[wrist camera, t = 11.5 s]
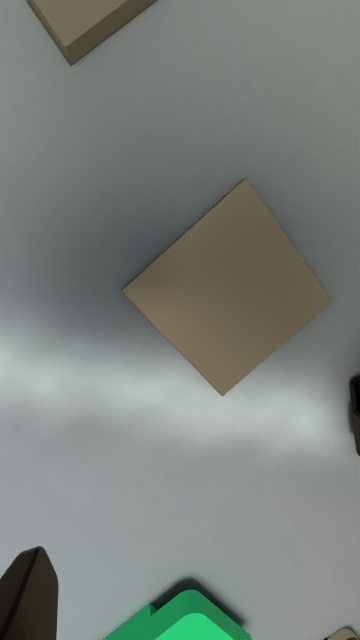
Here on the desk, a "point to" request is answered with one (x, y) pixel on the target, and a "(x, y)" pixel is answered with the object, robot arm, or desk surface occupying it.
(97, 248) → the desk surface
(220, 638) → the green mounting bracket
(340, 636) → the notebook
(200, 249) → the lid
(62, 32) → the shallow beige square tray
